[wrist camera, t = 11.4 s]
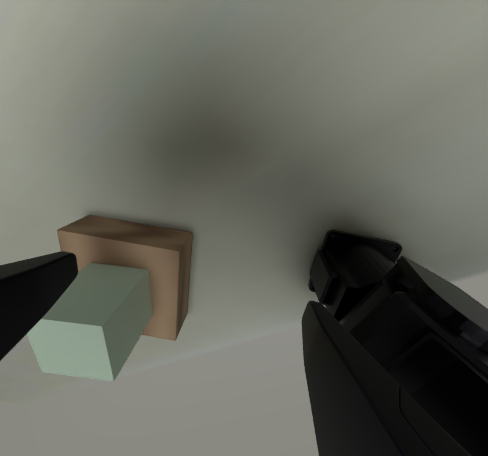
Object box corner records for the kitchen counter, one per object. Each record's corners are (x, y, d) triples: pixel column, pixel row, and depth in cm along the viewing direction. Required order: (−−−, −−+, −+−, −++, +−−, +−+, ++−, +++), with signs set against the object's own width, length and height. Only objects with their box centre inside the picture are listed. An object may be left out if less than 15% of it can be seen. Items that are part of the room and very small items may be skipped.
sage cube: (148, 269, 19) (102, 326, 13) (152, 315, 21) (113, 381, 15) (90, 262, 19) (19, 316, 13) (99, 308, 21) (42, 371, 15)
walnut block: (193, 231, 22) (179, 251, 18) (188, 310, 25) (175, 340, 22) (91, 213, 22) (56, 229, 18) (102, 295, 26) (75, 322, 22)
